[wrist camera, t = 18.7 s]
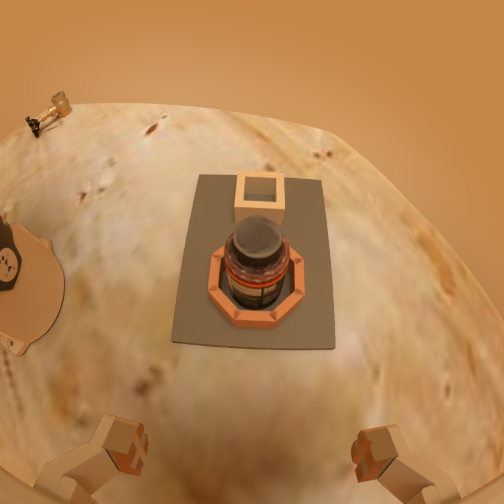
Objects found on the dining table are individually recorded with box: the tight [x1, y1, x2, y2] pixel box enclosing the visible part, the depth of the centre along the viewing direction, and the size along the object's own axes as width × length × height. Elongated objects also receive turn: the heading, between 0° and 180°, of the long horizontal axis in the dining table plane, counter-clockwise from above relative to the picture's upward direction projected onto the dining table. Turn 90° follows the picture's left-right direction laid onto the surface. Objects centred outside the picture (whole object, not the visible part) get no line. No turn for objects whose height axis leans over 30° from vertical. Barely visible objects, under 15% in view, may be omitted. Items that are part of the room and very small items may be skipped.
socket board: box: [171, 171, 335, 350], centre depth 34 cm, size 24×18×4 cm
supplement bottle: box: [224, 215, 290, 310], centre depth 27 cm, size 6×6×11 cm
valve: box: [26, 91, 71, 137], centre depth 50 cm, size 7×7×12 cm
